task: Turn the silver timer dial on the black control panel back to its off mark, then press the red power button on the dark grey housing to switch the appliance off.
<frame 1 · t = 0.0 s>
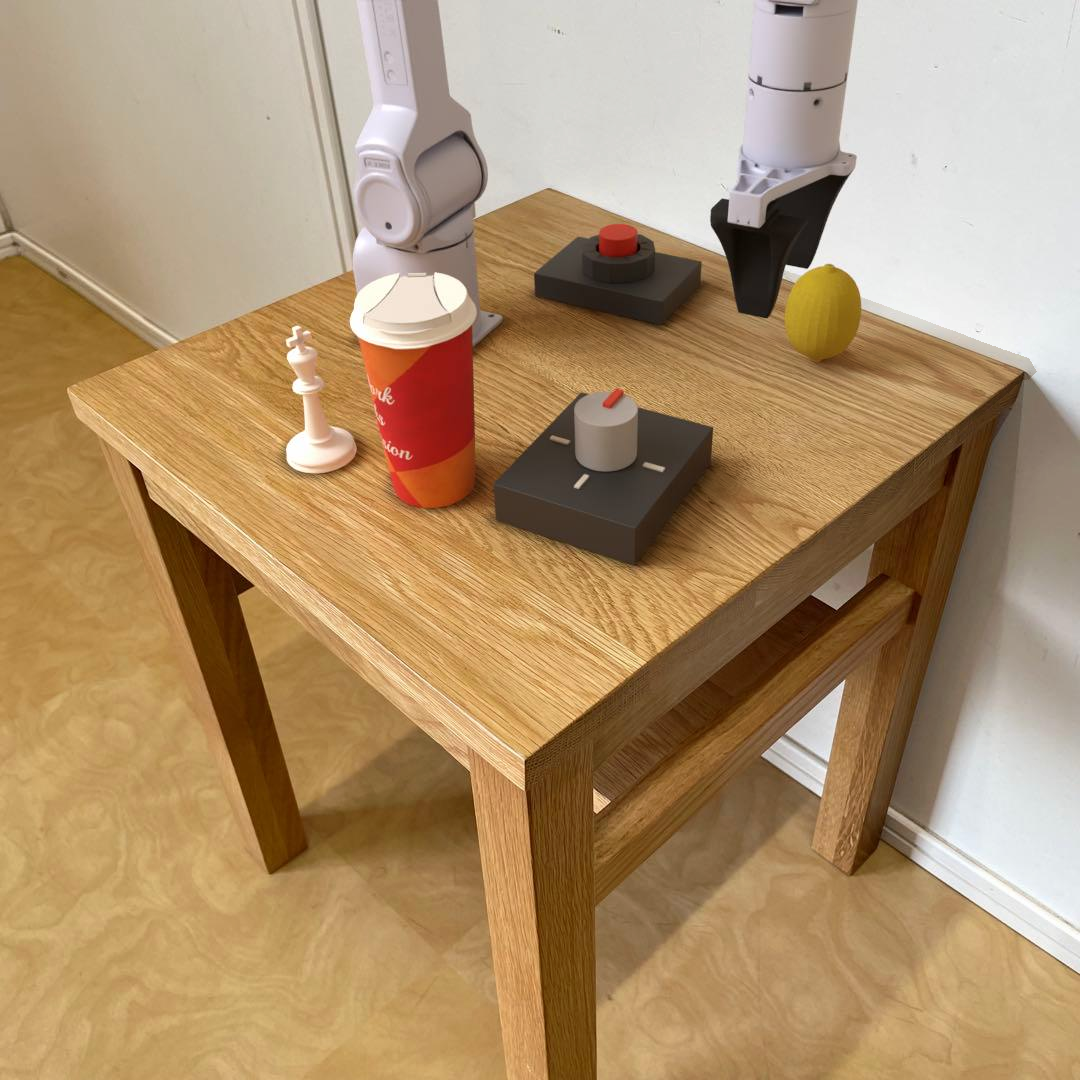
hand: (775, 288, 74), 10 cm above the table, tool pointing down, fingers open, 7 cm apart
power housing: (617, 290, 96), on the table
lemon: (815, 363, 86), on the table
paper cup: (434, 486, 76), on the table
power button: (618, 241, 93), point 4 cm above the table, slide at 0.1 cm
chess piece: (322, 455, 79), on the table
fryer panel: (606, 491, 74), on the table
timer dial: (606, 429, 71), point 5 cm above the table, hinge at 90.0°
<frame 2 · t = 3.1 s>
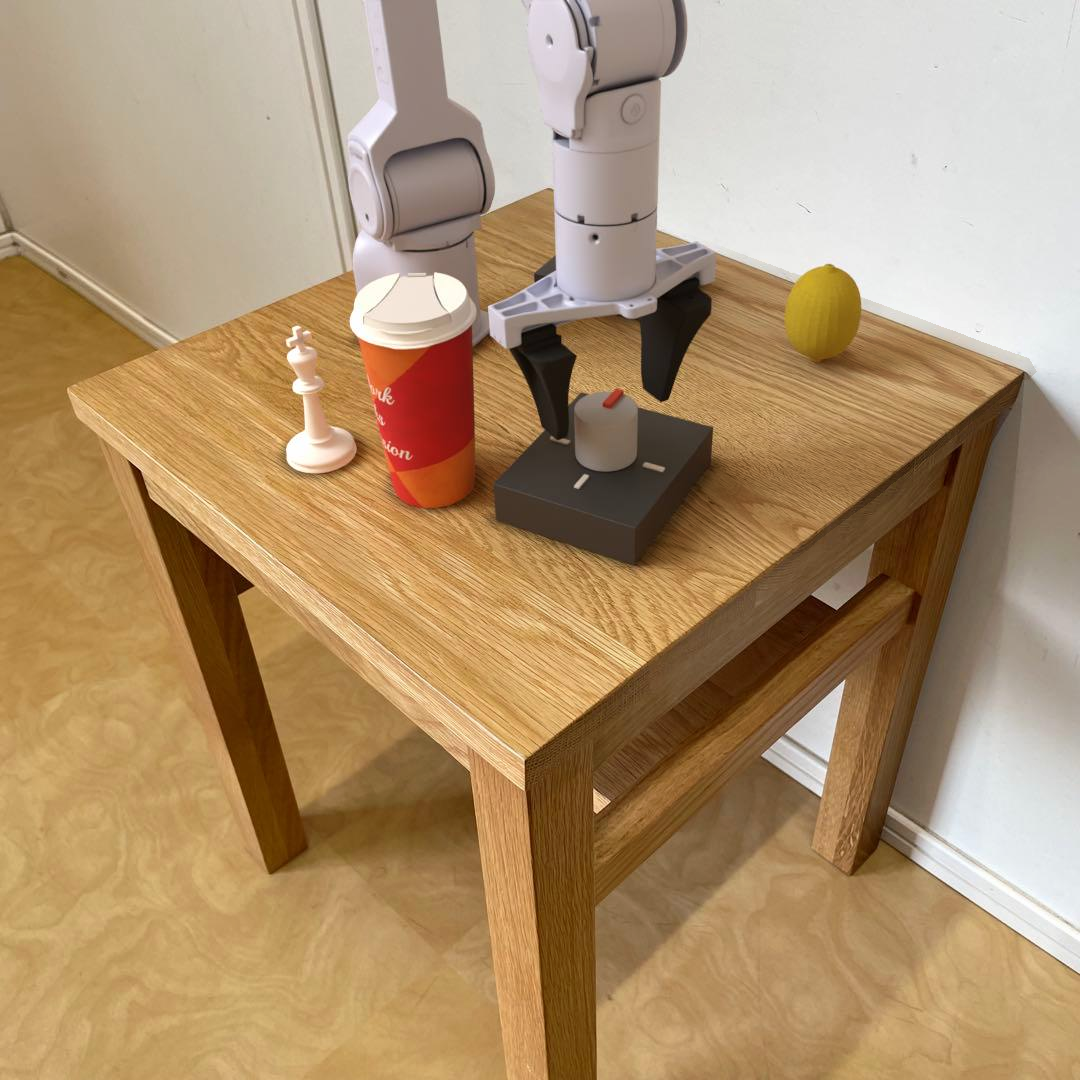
hand: (606, 412, 70), 6 cm above the table, tool pointing down, fingers open, 7 cm apart
nothing on the table moved.
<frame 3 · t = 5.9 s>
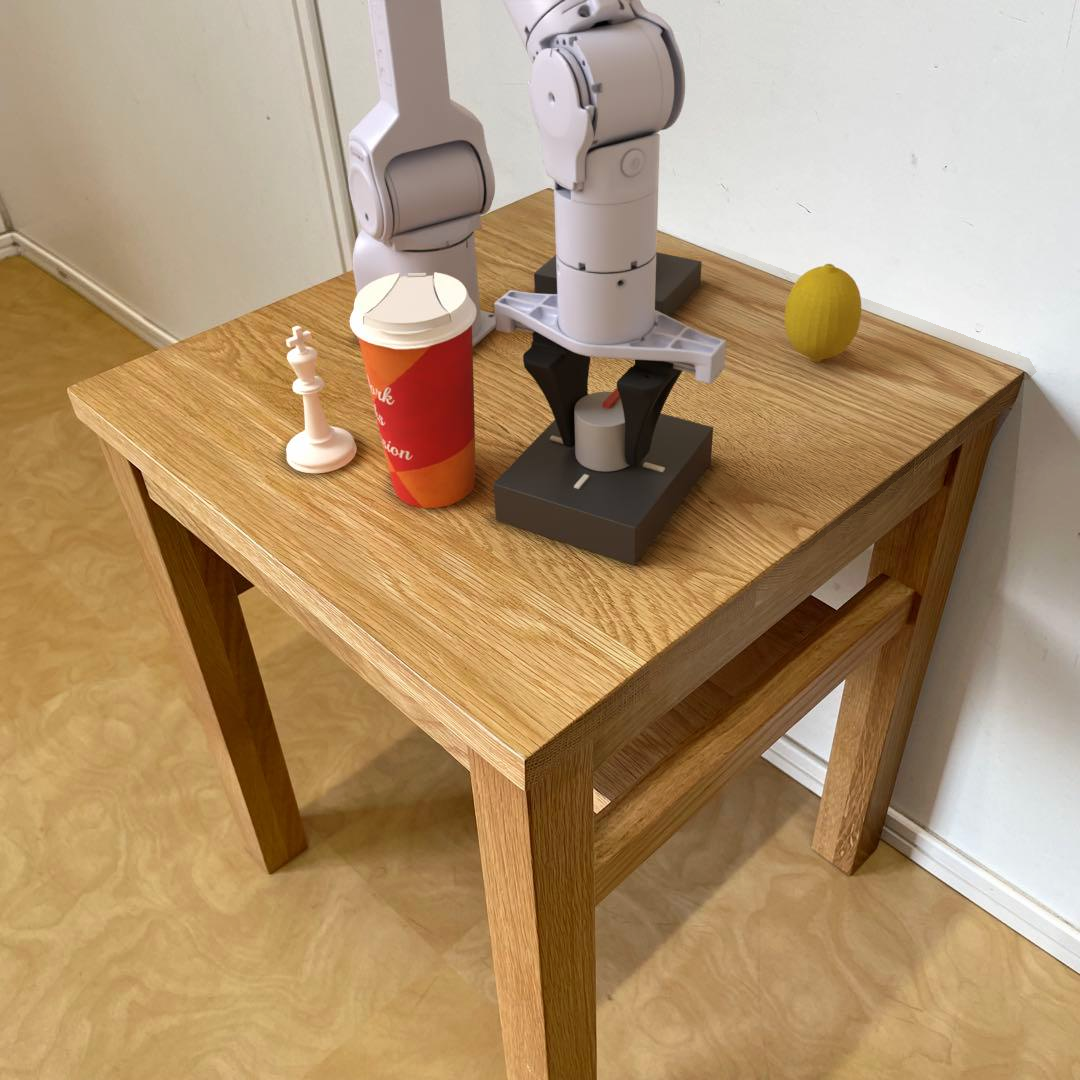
hand: (606, 448, 72), 4 cm above the table, tool pointing down, fingers closed on timer dial, 4 cm apart
timer dial: (606, 429, 71), point 5 cm above the table, hinge at 89.9°, touching gripper
everything else where it was.
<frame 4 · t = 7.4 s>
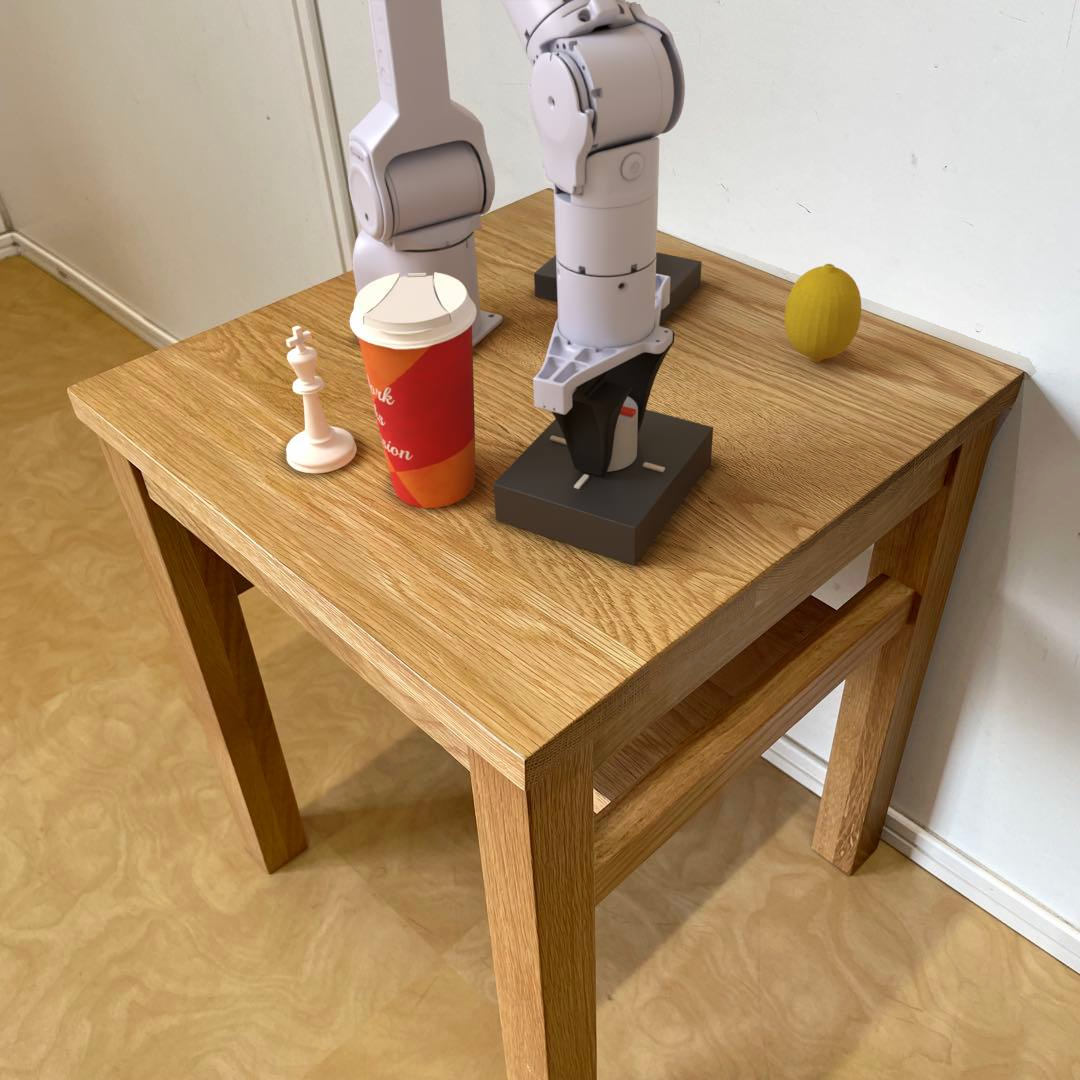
hand: (606, 451, 72), 3 cm above the table, tool pointing down, fingers closed on timer dial, 4 cm apart
timer dial: (606, 429, 71), point 5 cm above the table, hinge at 0.9°, touching gripper
everything else where it was.
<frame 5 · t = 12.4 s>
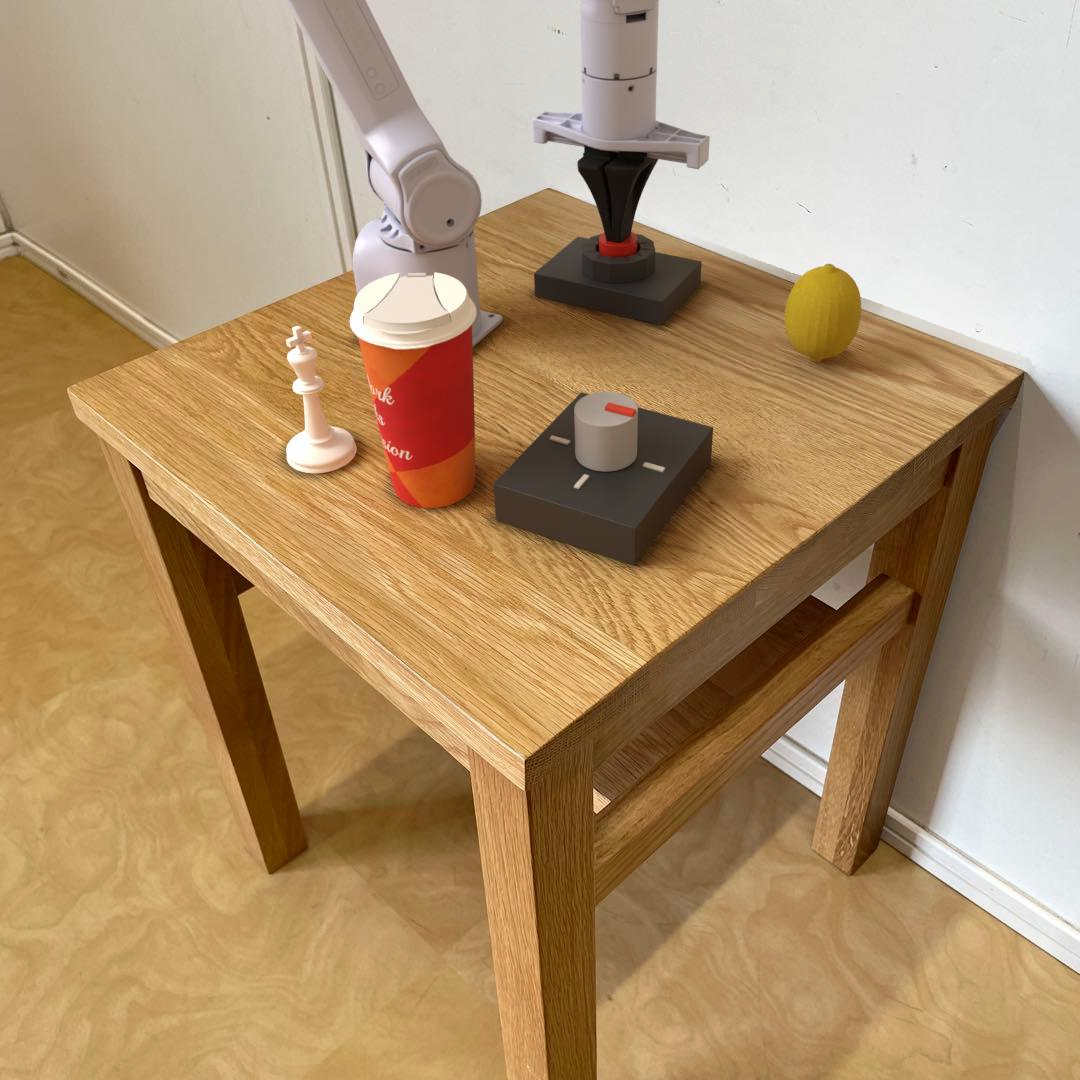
hand: (618, 237, 93), 5 cm above the table, tool pointing down, fingers closed, pressing on power button
power button: (618, 247, 93), point 4 cm above the table, slide at -0.4 cm, touching gripper
timer dial: (606, 429, 71), point 5 cm above the table, hinge at 1.4°
everything else where it was.
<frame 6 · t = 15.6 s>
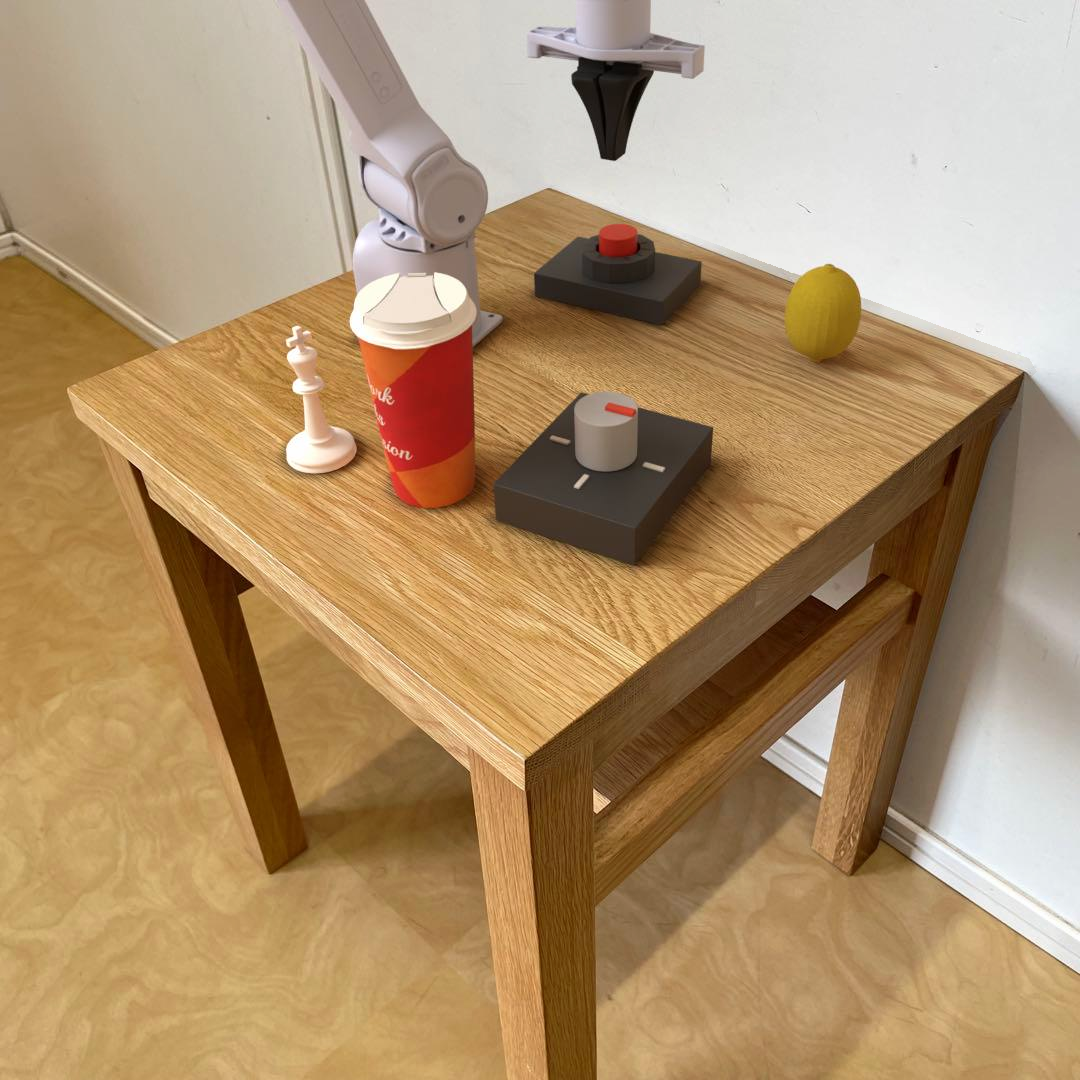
hand: (612, 156, 92), 10 cm above the table, tool pointing down, fingers closed
power button: (618, 241, 93), point 5 cm above the table, slide at 0.1 cm
everything else where it was.
at the end: timer dial at +1° (first picture: +90°); power button pushed in 1.2 cm at the most during the clip, back to where it started at the end; power button slide at 0.1 cm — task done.
